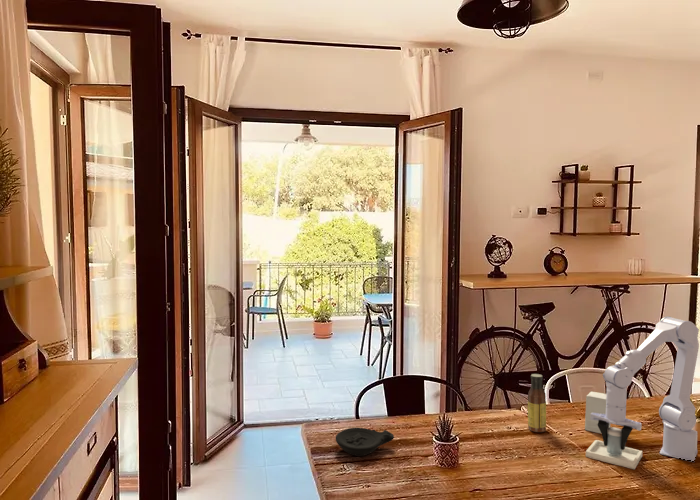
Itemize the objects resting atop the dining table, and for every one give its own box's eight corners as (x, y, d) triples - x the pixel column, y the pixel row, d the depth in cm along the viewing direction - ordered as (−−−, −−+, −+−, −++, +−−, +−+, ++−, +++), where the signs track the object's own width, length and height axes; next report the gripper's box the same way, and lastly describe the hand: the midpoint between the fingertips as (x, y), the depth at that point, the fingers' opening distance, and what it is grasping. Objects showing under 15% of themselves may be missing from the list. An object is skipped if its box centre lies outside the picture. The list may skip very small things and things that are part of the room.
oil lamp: (402, 456, 170) (402, 440, 170) (343, 463, 164) (343, 447, 164) (385, 438, 184) (385, 423, 184) (330, 444, 178) (330, 429, 178)
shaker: (623, 451, 172) (624, 429, 172) (620, 456, 169) (621, 434, 168) (608, 447, 175) (609, 426, 175) (604, 452, 172) (605, 430, 171)
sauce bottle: (543, 427, 196) (545, 373, 196) (548, 433, 190) (549, 378, 189) (525, 426, 197) (526, 372, 196) (528, 432, 191) (530, 377, 190)
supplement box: (606, 435, 190) (607, 399, 189) (584, 430, 194) (585, 395, 194) (611, 429, 196) (612, 394, 195) (589, 424, 200) (590, 390, 200)
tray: (642, 456, 172) (642, 451, 172) (634, 469, 163) (634, 463, 163) (595, 444, 181) (595, 439, 181) (585, 456, 172) (585, 451, 171)
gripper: (588, 402, 172) (586, 444, 173) (639, 413, 164) (637, 457, 164) (594, 397, 178) (592, 438, 179) (643, 407, 169) (641, 449, 170)
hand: (614, 446), depth 172 cm, fingers closed on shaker, 4 cm apart
